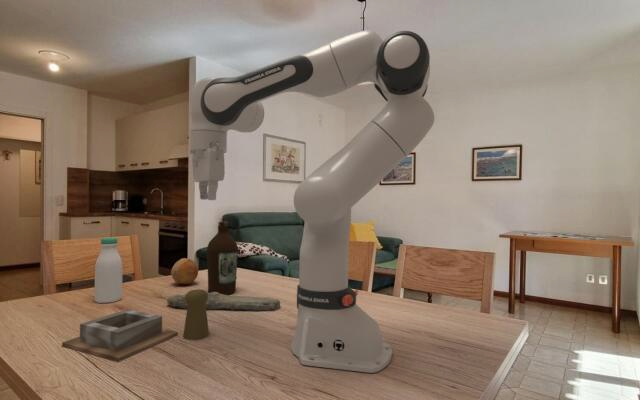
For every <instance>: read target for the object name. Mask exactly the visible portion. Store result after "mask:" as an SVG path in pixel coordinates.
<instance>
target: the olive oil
mask: <svg viewBox="0 0 640 400" xmlns="http://www.w3.org/2000/svg"><path fill="white" fill-rule="evenodd" d="M228 231H229V225H228V221H218V225H217V233H216V234H214V236H213V237H212V238H211V240H210V241H209V242H208V244H207V247H206V258H207V262H206V263H207V293H212V292H218V293H219V294H223V295H230V296H231V295H233V294H235V293H236V291H237V290H236V289H237V286H236V285H237V268H238V256H239V254H238V253H239V248H238V243H237V242H236V240H235V238H234V237H232V236H231V234H230V233H229V232H228Z"/></svg>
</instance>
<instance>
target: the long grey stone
mask: <svg viewBox="0 0 640 400" xmlns="http://www.w3.org/2000/svg"><path fill="white" fill-rule="evenodd" d="M186 294H187V293H185V294H174V295H171V296H170V295H169V296H168V297H167V299H166V303H167V304H168V305H169V306H170V307H174V308H180V309H184V310H187V307H188V304H187V303H186V300H185V297H186ZM207 294H208V299H207V302H206V303H205V304H206V310H212V311H213V310H216V311H217V310H222V309H227V310H231V311H235V310H236V311H237V310H241V311H243V310H245V311H249V312H250V311H251V312H252V311H253V312H263V311H265V312H266V311H276V310H279V309H280V308H281V302H280V300H279V299H277V298H274V297H273V298H271V297H269V296H268V297H267V296H266V297H265V296H264V297H263V296H259V297H258V296H247V295H242V296H241V295H239V296H238V295H231V294H230V295H223V294H219V293H218V292H212V293H208V292H207Z"/></svg>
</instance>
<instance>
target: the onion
mask: <svg viewBox="0 0 640 400" xmlns="http://www.w3.org/2000/svg"><path fill="white" fill-rule="evenodd" d="M170 273H171V274H170V275H171V277H172V279H173V281H174V283H176V284H177V285H185V286H188V285H190V284H192V283H193V282H195V281H196V280H197V277H198V275H199V268H198V265H197V263H196V262H195V261H194V260H192V259H190V258H186V257H184V258H180V259H179V260H177V261H176V262H175V263H174V265H173V266H172V267H171V272H170Z"/></svg>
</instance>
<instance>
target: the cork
mask: <svg viewBox="0 0 640 400" xmlns="http://www.w3.org/2000/svg"><path fill="white" fill-rule="evenodd" d="M207 293H208V291H206V290H204V289H199V288H197V289H191V290H189V291H187V293H185V294H186V297H185V300H186V303H187V304H188V307H187V309H186V314H185V322H184V327H183V328H184V329H183V335H182V338H183V339H184V340H188V341H195V340H196V341H197V340H202V339H205V338H207V337H209V336H210V329H209V322H208V314H207V313H208V312H207V309H206V304H205V303H206V302H207V299H208V294H207Z"/></svg>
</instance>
